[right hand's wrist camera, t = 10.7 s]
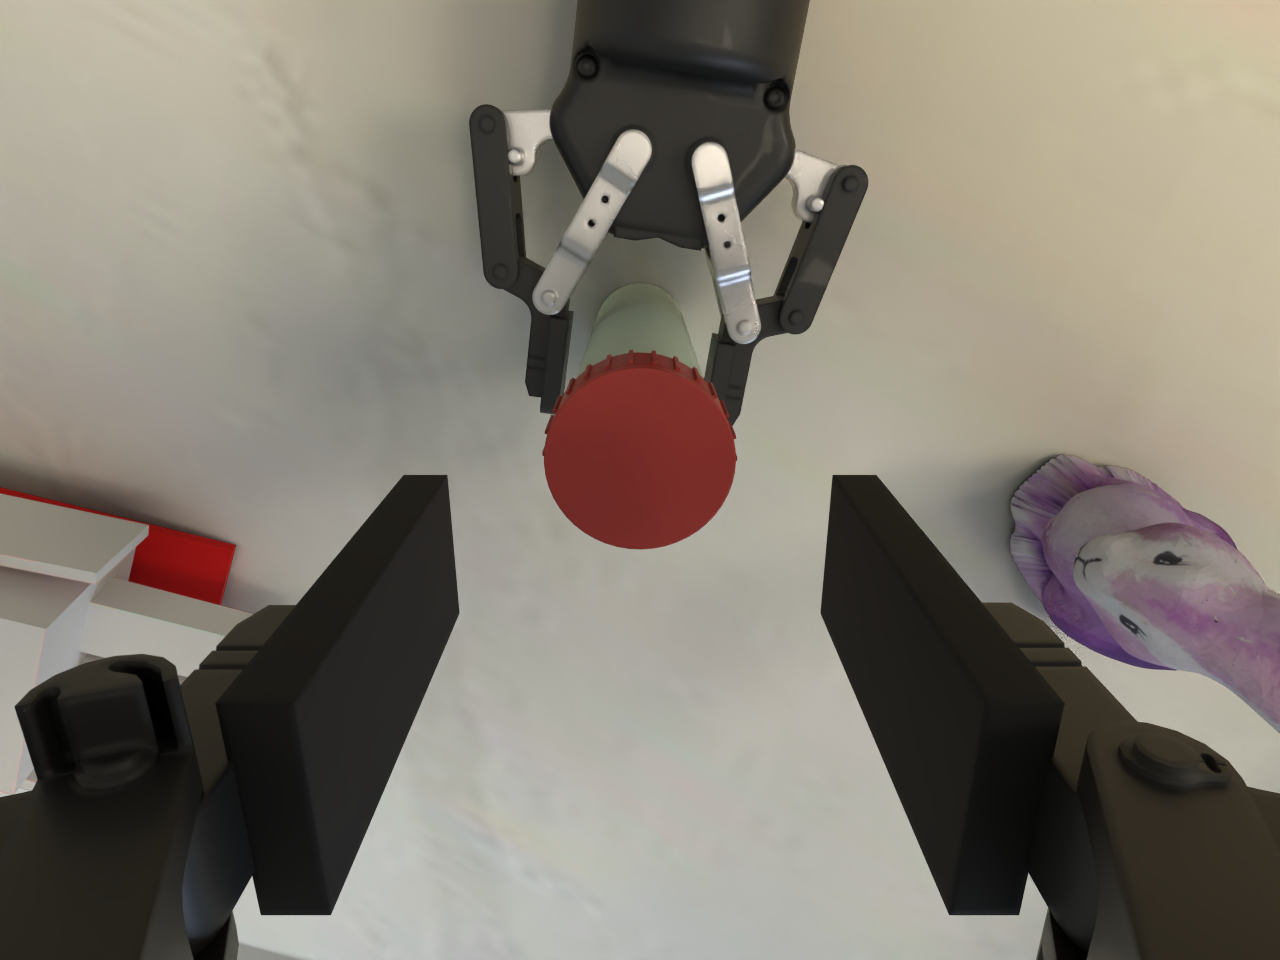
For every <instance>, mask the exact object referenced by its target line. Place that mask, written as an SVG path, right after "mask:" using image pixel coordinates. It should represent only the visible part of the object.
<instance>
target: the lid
mask: <svg viewBox="0 0 1280 960" xmlns="http://www.w3.org/2000/svg"><path fill="white" fill-rule="evenodd" d="M553 413H555V414H554V416H553V415H551V417H550V420H549V422H548V425H547V427H546V430H545V434H547V438H546V442H545V447H544V449H543V456H544V467H545V475H546V479H547V482H548V486H549V489H550V491H551V493H552V496H553V498H554V500H555V501H556V503H557V505H558V506H559V508H560V509H561V511H562V512H563V513H564V514H565V516H566V517H567V518H568V519H569V520H570V521H571V522H572V523H573V524H574V525H575V526H577V527H578V528H579V529H580V530H582V531H583V532H584V533H586V534H588V535H589V536H591V537H593V538H595V539H597V540H599V541H601V542H604V543H606V544H610V545H613V546H616V547H622V548H628V549H653V548H658V547H663V546H667V545H670V544H673V543H676V542H678V541H681V540H683V539H685V538H687V537H689V536H690V535H692V534H694V533H695V532H697V531H698V530H699V529H701V528H702V527H703V526H704V525H706V524H707V523H708V522H709V521H710V520H711V519H712V518H713V517H714V515H715V514H716V513H717V512H718V510H719V509H720V507H721V506H722V504H723V503H724V501H725V499H726V497H727V495H728V493H729V490H730V488H731V485H732V482H733V478H734V473H735V464H736V461H737V455H736V452H735V444H734V439H736V435H735V432H734V430H733V427H732V425H731V422H730V420H727V418H728V417H730V416H729V414H728V411H727V409H726V406H725V404H724V401H723V400H720V401H719V399H718V396H717V394H716V391H715V388H714V386H713V384H712V382H711V381H710V382H709V383H707V382H706V381H705V379H704V378H703V377H701V376H700V375H699V373H698V370H697V368H696V367H693V368H692V369H691V368H690V367H688V366H687V365H685V364H684V363H681V362H679V360H678V357H676V356H674V357H673V358H670V357H667V356H663V355H659V354H656V351H654V350H652V352H651V353H641V352H637V353H634V352H633V350H629V353H626V354H621V355H616V356H613V357H612V356H611V354H609V355H607V357H606V359H604V360H602V361H600V362H598V363H596V364H594V365H593V366H592V365H591V364H588V365H587V366H586V370H585V371H584V372H583V373H582V374H581V375H579V376H578V377H577V378H576V379H574V378H572V379H571V380H570V382H569V385H568V387H567V390H566V392H565V393H564V395H563V396H560V395H559V397H558V399H557V401H556V404H555V406H554V409H553Z"/></svg>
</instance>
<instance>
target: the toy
mask: <svg viewBox="0 0 1280 960" xmlns="http://www.w3.org/2000/svg"><path fill="white" fill-rule="evenodd" d="M235 547H236V545H233V544H229V543H225V542H221V541H217V540H213V539H209V538H205V537H201V536H196V535H192V534H188V533H184V532H180V531H176V530H172V529H168V528H164V527H160V526H156V525H152V524H148V523H143V522H139V521H135V520H131V519H127V518H123V517H119V516H115V515H111V514H107V513H103V512H99V511H95V510H90V509H86V508H82V507H78V506H74V505H70V504H66V503H62V502H58V501H54V500H50V499H46V498H42V497H37V496H33V495H29V494H25V493H21V492H17V491H13V490H9V489H5V488H1V487H0V792H2V793H7V794H12V795H14V793H15V792H16V791H17V790H18V788H22V789H26V790H30V791H32V790H33V788H34V786H35V784H36V782H37V776H36V773H35V770H34V767H33V764H32V761H31V758H30V754H29V751H28V748H27V745H26V742H25V739H24V736H23V733H22V729H21V726H20V723H19V720H18V717H17V714H16V711H15V707H14V706H15V705H16V704H17V703H18V702H19V701H20V700H21V699H22V698H23V697H24V696H25V695H26V694H27V693H28V692H29V691H30V690H31V689H33V688H34V687H36V686H38V685H39V684H41V683H43V682H44V681H46V680H48V679H49V678H51V677H52V676H54V675H56V674H59V673H61V672H64V671H66V670H69V669H71V668H74V667H76V666H79V665H81V664H84V663H87V662H91V661H95V660H100V659H104V658H108V657H112V656H119V655H133V654H147V655H153V656H159V657H164V658H165V659H167V660H168V661H170V662H171V663H173V664H174V665H175V666H176V669H177V674H178V678H179V682H180V685H181V684H182V683H183V682H184V681H185V679H186V678H187V677H188V676H189V675H190V674H191V673H192V672H193V671H194V670H198V669H199V664H200V663H201V662H202V661H203V660H204V659H205V658H206V657H207V656H208V655H209V654H210V652H211V651H216V646H217V645H218V644H219V643H220V642H221V641H222V640H223V638H224V637H225V636H226V635H227V634H228V633H229V632H230V631H231V630H232V629H233V628H234V627H235V626H236V624H238V623H240V622H241V621H243V620H245V619H246V618H248V617H250V616H252V615H253V614H251V613H248V612H244V611H240V610H236V609H232V608H228V607H225V606H221V603H222V599H223V595H224V591H225V587H226V583H227V579H228V575H229V571H230V567H231V563H232V559H233V555H234V551H235Z"/></svg>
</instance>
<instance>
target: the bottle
mask: <svg viewBox="0 0 1280 960" xmlns="http://www.w3.org/2000/svg"><path fill="white" fill-rule="evenodd" d="M629 350H633V352H634V353H637V352H641V353H651V352H652V350H654V351H656V354H659V355H663V356H667V357H670V358H673V357H674V356H676V357H678V360H679V362H681V363H684V364H685V365H687V366H688V367H690V368H691V369H692V368H693V367H696V368H697V370H698V373H699V375H700V376H701V377H703V376H702V373H701V370H700V367H699V364H698V361H697V358H696V355H695V352H694V349H693V346H692V343H691V340H690V337H689V334H688V331H687V328H686V325H685V322H684V319H683V316H682V313H681V310H680V308H679V306H678V304H677V303H676V301H675V300H674V299H673V298H672V297H671V296H670V295H669V294H668V293H667V292H666V291H664V290H663V289H661V288H659V287H657V286H654V285H651V284H646V283H634V284H629V285H626V286H623V287H621V288H619V289H617V290H616V291H614V292H613V293H612V294H611V295H610V296H608V298H607V299H606V300H605V301H604V303H603V304H602V306H601V308H600V310H599V313H598V316H597V319H596V322H595V325H594V328H593V331H592V334H591V337H590V340H589V343H588V346H587V349H586V352H585V354H584V357H583V360H582V363H581V366H580V369H579V372H578V375H577V377H578V376H579V375H581V374H582V373H583V372H584V371H585V370H586V366H587V365H588V364H591V365H592V366H593V365H594V364H596V363H598V362H600V361H602V360H604V359H606V357H607V355H609V354H611V356H612V357H613V356H616V355H621V354H626V353H629Z"/></svg>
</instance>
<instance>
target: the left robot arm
mask: <svg viewBox="0 0 1280 960" xmlns="http://www.w3.org/2000/svg"><path fill="white" fill-rule="evenodd" d="M809 1H810V0H578V4H577V13H576V22H575V32H574V41H573V51H572V60H571V68H570V72H569V76H568V79H567V82H566V84H565V86H564V88H563V90H562V92H561V93H560V95H559V96H558V98H557V99H556V100H555V102H554V104H553V106H552V109H548V110H520V111H502V110H500V109H498V108H496V107H494V106H492V105H481V106H478V107H477V108H476V109H475V110H474V111H473V112H472V114H471V116H470V121H469V126H470V136H471V146H472V157H473V167H474V177H475V188H476V198H477V208H478V219H479V229H480V239H481V250H482V260H483V270H484V276H485V278H486V280H487V282H488V283H489V284H490V285H491V286H493V287H495V288H498V289H504V290H506V291H507V292H509V293H511V294H513V295H515V296H517V297H519V298H520V299H522V300H523V301H524V302H525V303H526V304H527V306H528V307H529V309H530V312H531V329H530V339H529V349H528V359H527V369H526V378H525V383H526V387H527V390H528V394H529V396H534V397H541V405H540V413H547V414H555V413H553V409H554V406H555V404H556V401H557V399H558V397H559V395H560V396H563V395H564V388H565V379H566V371H567V363H568V354H569V346H570V338H571V329H572V321H573V312H574V311H568V309H569V301H570V296H571V295H572V293H573V291H574V289H575V288H576V286H577V284H578V283H579V281H580V279H581V277H582V276H583V274H584V272H585V270H586V269H587V267H588V265H589V264H590V262H591V260H592V258H593V257H594V255H595V253H596V252H597V250H598V248H599V247H600V245H601V243H602V241H603V240H604V238H605V236H606V235H607V233H608V232H609V233H611V234H613V235H614V237H617V238H624V239H630V240H642V239H650V238H661V239H663V240H665V241H667V242H669V243H672V244H674V245H676V246H678V247H682V248H688V249H694V250H701V248H704V250H705V254H706V258H707V263H708V267H709V271H710V274H711V277H712V281H713V286H714V290H715V294H716V299H717V303H718V307H719V312H720V316H721V322H720V327H719V333H718V334H716V333H712V339H711V344H710V350H709V355H708V361H707V366H706V372H705V377H704V379H705V381H706V382H707V383H709V382H710V381H711V382H712V384H713V386H714V388H715V391H716V394H717V396H718V399H719V401H720V400H723V401H724V404H725V406H726V409H727V411H728V414H729V416H730V417H728V418H727V420H730V422H731V425H732V426H733V424H734V422H735V421H736V419H737V418H738V416H739V415H740V411H741V406H742V401H743V396H744V391H745V386H746V381H747V376H748V371H749V366H750V361H751V356H752V352H753V349H754V347H755V346H756V344H757V343H758V342H759V341H761V340H762V339H764V338H766V337H769V336H774V335H779V334H784V333H790V334H800V333H803V332H805V331H806V330H807V329H808V328H809V327H810V326H811V324H812V321H813V319H814V316H815V314H816V312H817V309H818V307H819V304H820V302H821V300H822V297H823V295H824V292H825V290H826V287H827V285H828V283H829V280H830V278H831V275H832V273H833V270H834V268H835V266H836V263H837V261H838V258H839V256H840V253H841V251H842V249H843V246H844V244H845V241H846V239H847V236H848V234H849V232H850V229H851V227H852V224H853V222H854V220H855V217H856V215H857V212H858V210H859V207H860V205H861V203H862V200H863V198H864V195H865V193H866V190H867V187H868V177H867V175H866V173H865V171H864V170H863V169H862V168H860V167H858V166H855V165H840V166H839V165H836V164H833V163H831V162H828V161H825V160H823V159H820V158H817V157H815V156H812V155H809V154H807V153H804V152H801V151H799V150H796V147H795V140H794V137H793V134H792V130H791V126H790V119H789V107H790V99H791V94H792V89H793V84H794V78H795V73H796V68H797V63H798V58H799V53H800V48H801V42H802V37H803V32H804V27H805V22H806V17H807V11H808V6H809ZM551 140H554V142H555V144H556V146H557V148H558V150H559V152H560V154H561V156H562V158H563V160H564V161H565V163H566V165H567V167H568V169H569V171H570V173H571V175H572V177H573V179H574V181H575V183H576V185H577V187H578V189H579V191H580V193H581V195H582V197H583V199H584V200H583V202H582V204H581V206H580V207H579V209H578V211H577V213H576V215H575V216H574V218H573V220H572V222H571V223H570V225H569V227H568V229H567V230H566V232H565V234H564V236H563V238H562V240H561V241H560V244H559V246H558V248H557V250H556V251H555V253H554V255H553V257H552V259H551V260H550V262H549V264H548V266H547V267H546V268H544V267H542V266H540V265H539V264H537V263H535V262H533V261H531V260H529V259H528V258H526V249H525V236H524V224H523V211H522V198H521V186H520V176H525V175H528V174H530V173H531V172H533V170H534V169H535V168H536V166H537V162H538V154H539V151H540V149H541V147H542V146H543V145H544V144H545V143H546V142H548V141H551ZM784 178H786V179H787V180H788V181H789V182H790V183H791V185H792V188H793V198H792V204H791V206H792V211H793V213H794V215H795V216H796V217H797V218H798V219H800V220H802V221H803V222H802V224H801V227H800V229H799V232H798V235H797V237H796V240H795V242H794V245H793V247H792V250H791V252H790V255H789V257H788V260H787V263H786V265H785V268H784V270H783V273H782V275H781V278H780V280H779V283H778V286H777V288H776V291H775V293H774V296H771V297H766V298H762V299H757V300H756V299H755V294H754V290H753V285H752V280H751V269H750V263H749V259H748V254H747V249H746V245H745V240H744V235H743V230H742V226H741V222H742V221H743V220H744V218H745V217H746V216H747V215H748V214H749V213H750V212H751V211H752V210H753V209H754V208H755V207H756V206H757V205H758V204H759V203H760V202H761V201H762V200H763V199H764V198H765V197H766V196H767V195H768V194H769V193H770V192H771V191H772V190H773V189H774V188H775V187H776V186H777V185H778V184H779V183H780V182H781V181H782V180H783V179H784ZM593 220H594V221H595V222H594V221H593Z"/></svg>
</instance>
